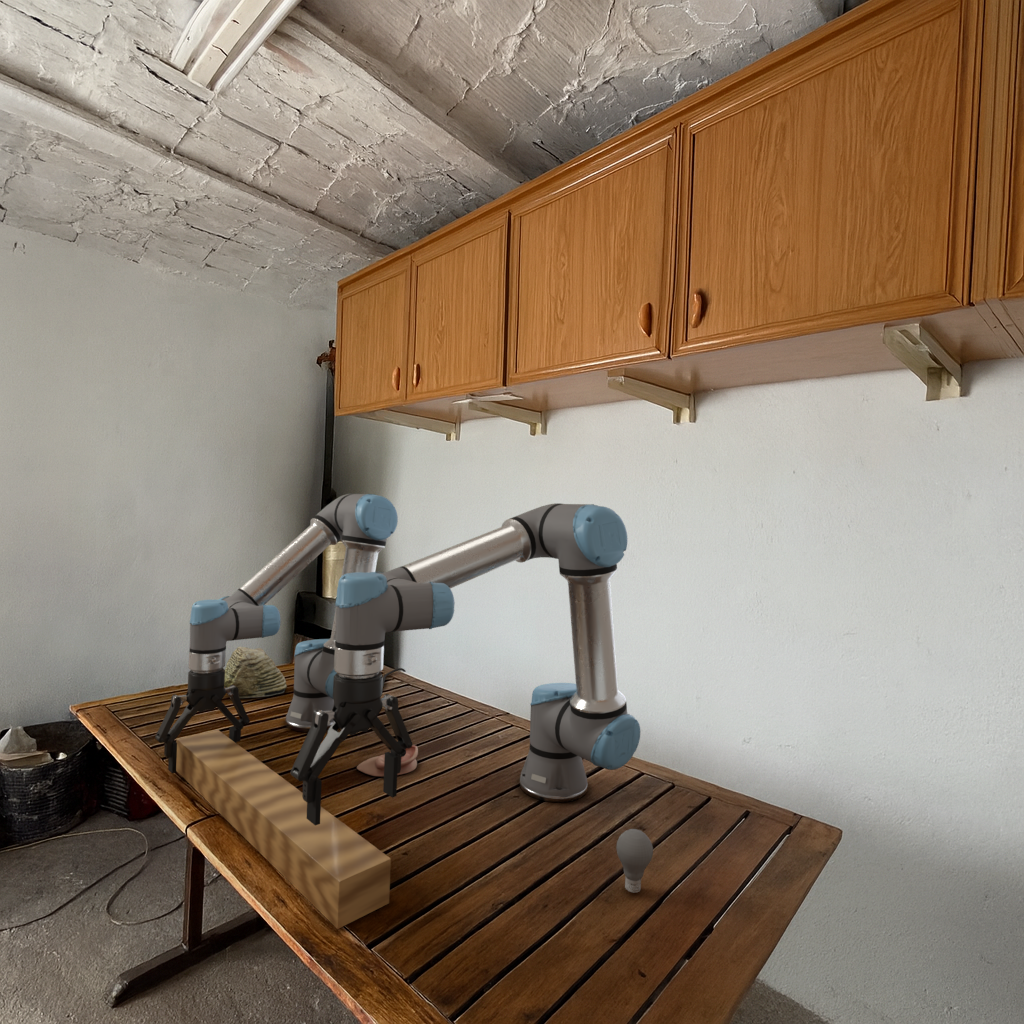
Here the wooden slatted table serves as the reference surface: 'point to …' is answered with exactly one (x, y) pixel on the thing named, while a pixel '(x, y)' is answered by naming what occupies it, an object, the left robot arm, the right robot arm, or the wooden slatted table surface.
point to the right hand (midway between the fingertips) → (353, 807)
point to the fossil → (253, 673)
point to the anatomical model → (377, 763)
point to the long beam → (287, 828)
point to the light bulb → (634, 857)
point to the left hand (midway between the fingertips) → (203, 763)
